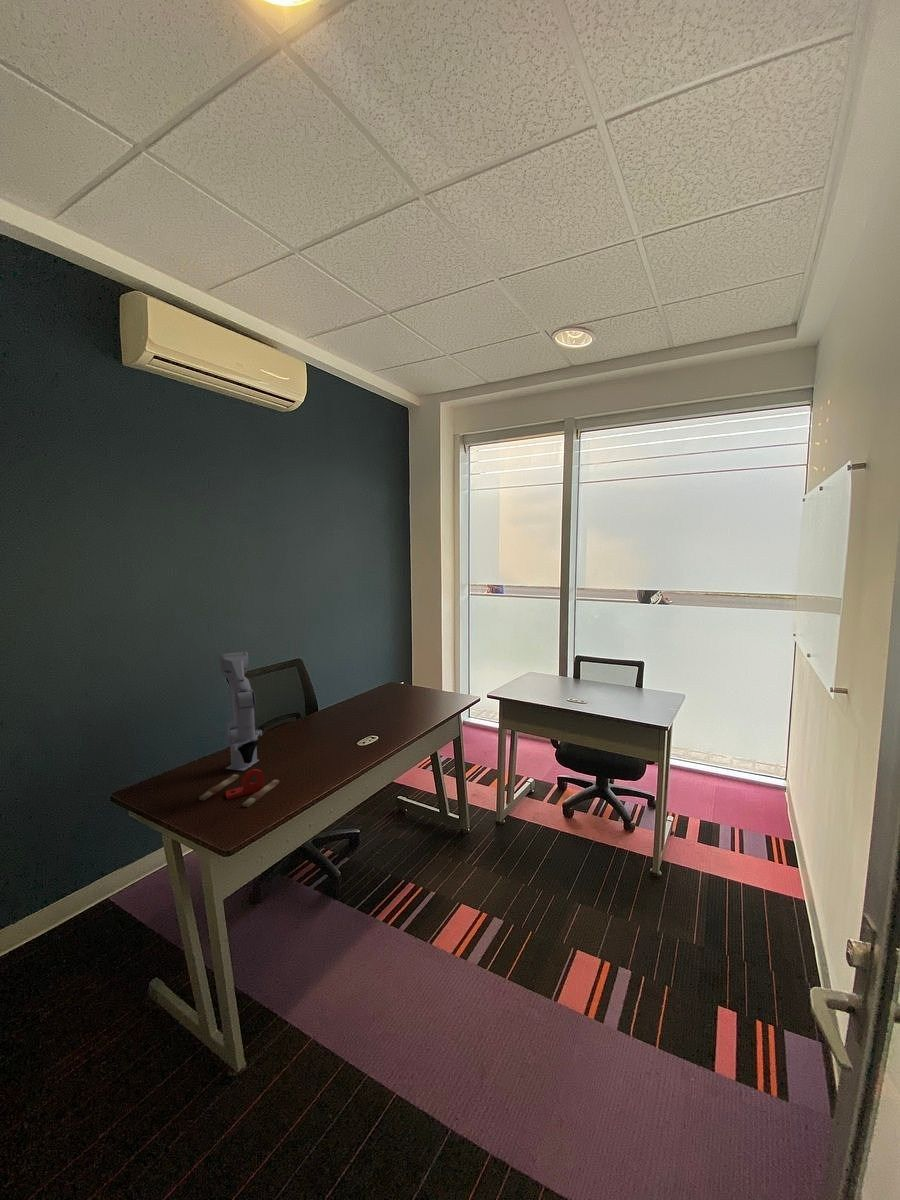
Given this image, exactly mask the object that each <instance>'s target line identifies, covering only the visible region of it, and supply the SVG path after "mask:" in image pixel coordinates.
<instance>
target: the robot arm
mask: <svg viewBox="0 0 900 1200" xmlns="http://www.w3.org/2000/svg"><path fill="white" fill-rule="evenodd" d="M249 663H250V661H249V653H248V652H247V651H240V652H239V651H237V652H230V653H220V655H219V666H220V673H221V676H223V677H224V678H225V677H226V679H227V681H228V690H229V698H230V709H231V720H229V721H228V723H226V724H225V729H224V730H225V731H224V733H225V736H224V737H225V744H226V745H227V746H229V751H230V763H231V764H230V765H228V766H227V767H225V769H226V770H233V771H239V772H240V771H241V772H245V771H246V770H248V769H249V768H250V767H253V766H254V765H255V764H256V763H258V762H259V761H260V759H258V751H257V749H258V747H257V745H258V740H259V737H262V736H263V730H262V729H256V724H255V723H256V721H255V707H256V695H255V692H254V690H253V689H252V687H251V684H250V680H249V678H247V677H245V674H246V673H247V672H248V669H249V668H248V667H249V665H250V664H249Z"/></svg>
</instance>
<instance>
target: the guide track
mask: <svg viewBox="0 0 900 1200" xmlns="http://www.w3.org/2000/svg"><path fill="white" fill-rule="evenodd" d="M239 778H240V775H239V774H235V773H234V774H232V775H231V776H229V777H228V778H226V779H225V780H223V781H221V782H220V783H218V784H217V785H215V786H212V787H210V788H209V789H207V791H206V792H204V793H203V794H201V795H199V796H198V799H199V801H206V800H207V799H208V798H210V797H212V796H213V795H215V794H217V793H218V792H220V791H221V790H223V789H224V788H225V787H227V786H228V785H230V784H232V783H233V782H234V781H235V780H237V779H239ZM278 784H280V779H273V780H272V781H271V782H269V783H268V784H265V785H264V786H265V787H264V788H262V789H261V790H260V791H258V792H254V793H252V794H251V795H250V796H249V798H247V799H246V800H245V801H244V802H243V803H241V804H242V807H243V808H249V807H250V806H251V805H253V804H254V803H255V802H257V801H258V800H260V798H262V797H263V796H264V795H266V794H267V793H268V792H269V791H271V790H272V789H273V788H275V787H276V786H277V785H278Z"/></svg>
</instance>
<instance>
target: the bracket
mask: <svg viewBox="0 0 900 1200" xmlns="http://www.w3.org/2000/svg"><path fill="white" fill-rule="evenodd" d="M252 777H256V778H257V779H256V780H255V782H250V779H251V778H252ZM265 786H266V785H265V775H264V773H263V771H261V769H258V768H254V769H250V770H248V771H247V772H246V773H245V774H244V775H243V777H242V786H240V787H235V788H231V789H227V790H226V791H225V797H226V800H230V799H231V800H232V799H234V798H238V797H243V796H247V795H250V794H254V793H256V792H258V791H260V790H261V789H262V788H264V787H265Z"/></svg>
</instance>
